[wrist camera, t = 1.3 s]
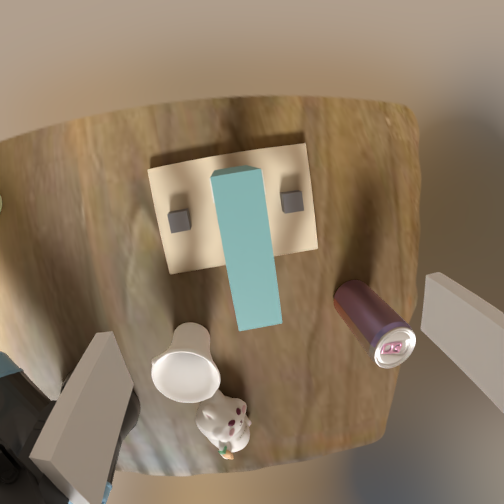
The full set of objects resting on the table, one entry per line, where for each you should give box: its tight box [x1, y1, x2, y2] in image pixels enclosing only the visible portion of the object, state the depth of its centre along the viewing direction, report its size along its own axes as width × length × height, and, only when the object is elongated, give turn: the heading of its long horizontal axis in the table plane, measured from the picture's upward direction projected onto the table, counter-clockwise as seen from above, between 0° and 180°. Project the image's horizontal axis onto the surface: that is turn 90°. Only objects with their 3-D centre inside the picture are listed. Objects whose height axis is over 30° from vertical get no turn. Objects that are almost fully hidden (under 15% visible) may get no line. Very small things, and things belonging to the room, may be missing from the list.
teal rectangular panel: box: [209, 165, 282, 331], centre depth 27 cm, size 3×11×13 cm, turn 8°
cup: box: [151, 322, 220, 403], centre depth 41 cm, size 9×9×10 cm
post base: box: [148, 143, 318, 274], centre depth 37 cm, size 20×14×8 cm
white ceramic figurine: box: [196, 389, 251, 459], centre depth 47 cm, size 10×8×15 cm
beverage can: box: [334, 280, 416, 368], centre depth 39 cm, size 6×6×15 cm
